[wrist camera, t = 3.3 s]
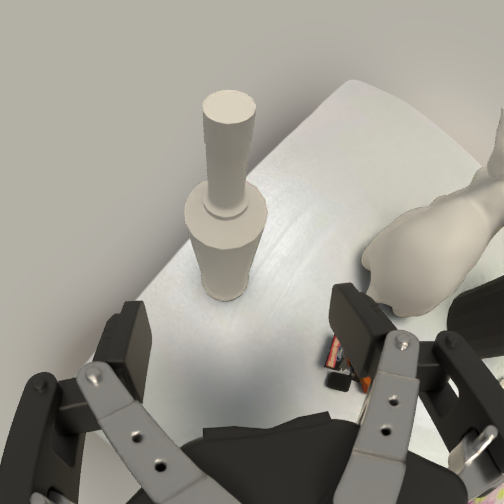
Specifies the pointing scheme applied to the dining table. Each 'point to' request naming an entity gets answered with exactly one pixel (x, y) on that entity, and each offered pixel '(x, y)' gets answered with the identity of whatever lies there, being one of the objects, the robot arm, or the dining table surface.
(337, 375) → the toy car
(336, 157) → the dining table surface
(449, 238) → the rabbit
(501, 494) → the decorative item
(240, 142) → the bottle
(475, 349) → the vase
